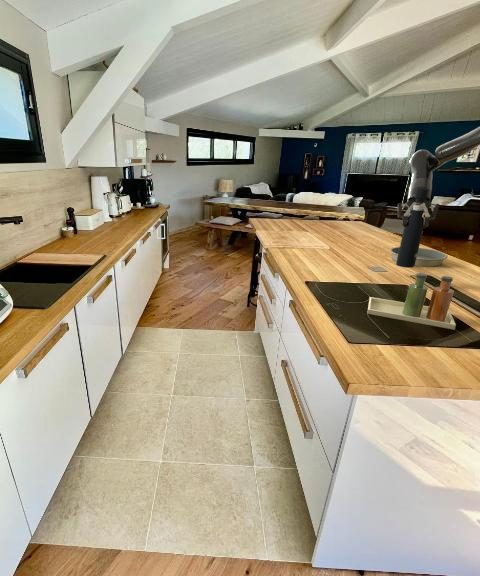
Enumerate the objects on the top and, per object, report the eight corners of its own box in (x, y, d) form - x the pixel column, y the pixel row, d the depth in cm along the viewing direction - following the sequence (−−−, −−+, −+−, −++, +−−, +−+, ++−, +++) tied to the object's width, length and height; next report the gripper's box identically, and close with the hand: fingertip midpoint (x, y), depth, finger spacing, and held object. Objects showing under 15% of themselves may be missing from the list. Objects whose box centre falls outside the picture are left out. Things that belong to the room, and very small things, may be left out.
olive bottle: (419, 313, 104) (430, 273, 99) (420, 318, 100) (432, 277, 95) (401, 309, 107) (411, 271, 102) (402, 315, 103) (412, 275, 98)
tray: (447, 315, 104) (449, 309, 103) (454, 331, 94) (456, 325, 93) (368, 301, 115) (369, 296, 114) (367, 314, 105) (368, 309, 104)
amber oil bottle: (443, 317, 101) (456, 276, 96) (446, 323, 97) (459, 281, 92) (425, 313, 104) (436, 274, 99) (426, 319, 100) (438, 278, 95)
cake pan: (390, 264, 157) (392, 255, 156) (386, 252, 178) (387, 245, 176) (451, 270, 147) (454, 261, 146) (438, 257, 168) (441, 249, 166)
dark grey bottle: (395, 262, 132) (411, 188, 122) (413, 264, 130) (431, 188, 119) (396, 266, 127) (413, 189, 116) (415, 268, 124) (434, 189, 114)
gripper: (400, 185, 127) (394, 219, 121) (444, 186, 120) (440, 221, 115) (397, 198, 133) (391, 230, 128) (439, 199, 126) (435, 233, 121)
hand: (414, 226), depth 121 cm, fingers closed on dark grey bottle, 5 cm apart
